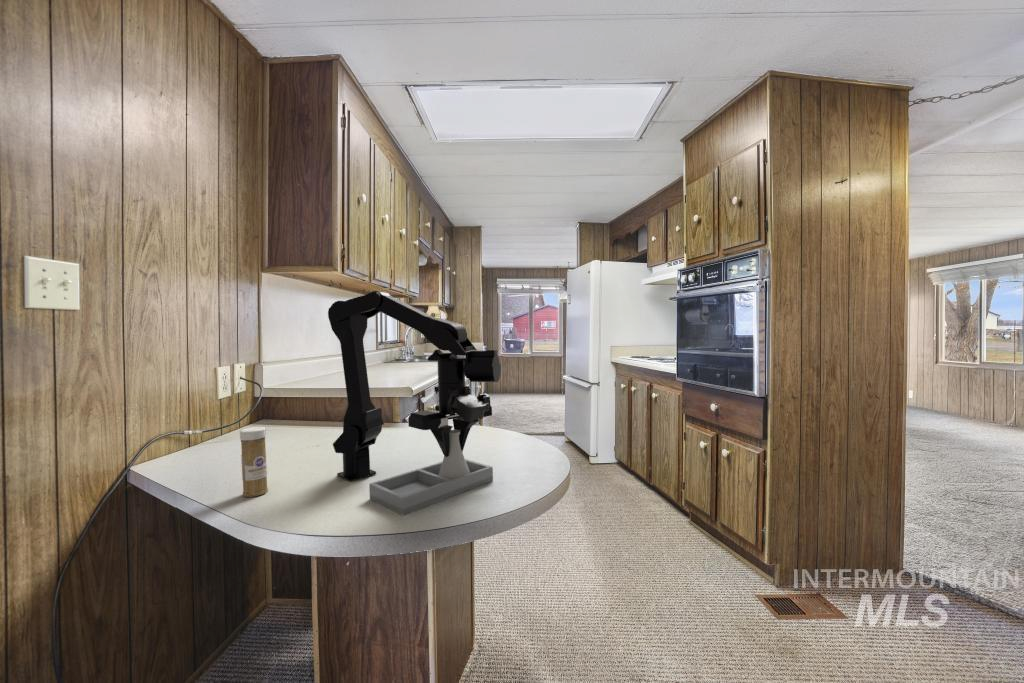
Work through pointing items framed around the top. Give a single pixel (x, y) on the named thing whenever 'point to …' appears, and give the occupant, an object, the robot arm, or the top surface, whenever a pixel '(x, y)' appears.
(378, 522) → the top surface
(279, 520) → the top surface
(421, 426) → the robot arm
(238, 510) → the top surface
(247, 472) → the sprinkles bottle
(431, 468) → the tray
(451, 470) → the flask
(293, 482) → the top surface
